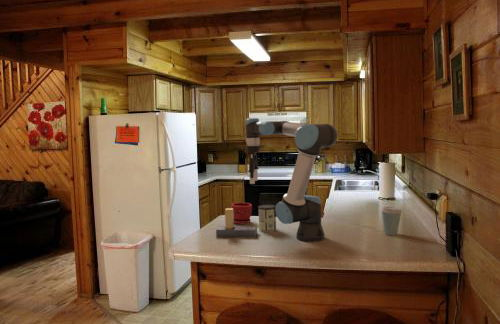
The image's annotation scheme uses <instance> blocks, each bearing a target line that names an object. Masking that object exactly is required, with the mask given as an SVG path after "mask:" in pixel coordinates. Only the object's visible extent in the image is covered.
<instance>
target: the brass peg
mask: <svg viewBox="0 0 500 324" xmlns="http://www.w3.org/2000/svg"><path fill="white" fill-rule="evenodd" d="M224 217H225V219H224V221H225V223H224V224H225V225H224V226H226V229H234V226H235V223H234V212H233V208H231V207H226V208H225V209H224Z"/></svg>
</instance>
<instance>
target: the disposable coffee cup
mask: <svg viewBox="0 0 500 324" xmlns="http://www.w3.org/2000/svg"><path fill="white" fill-rule="evenodd" d="M380 211H381V215H382V216H381V217H382V224H383V233H384V234H385V235H387V236H391V237H392V236H397V234H398V231H399V227H400V226H399V225H400V221H401V216H402V209H401V208H400V207H394V206H382V208H381V210H380Z"/></svg>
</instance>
